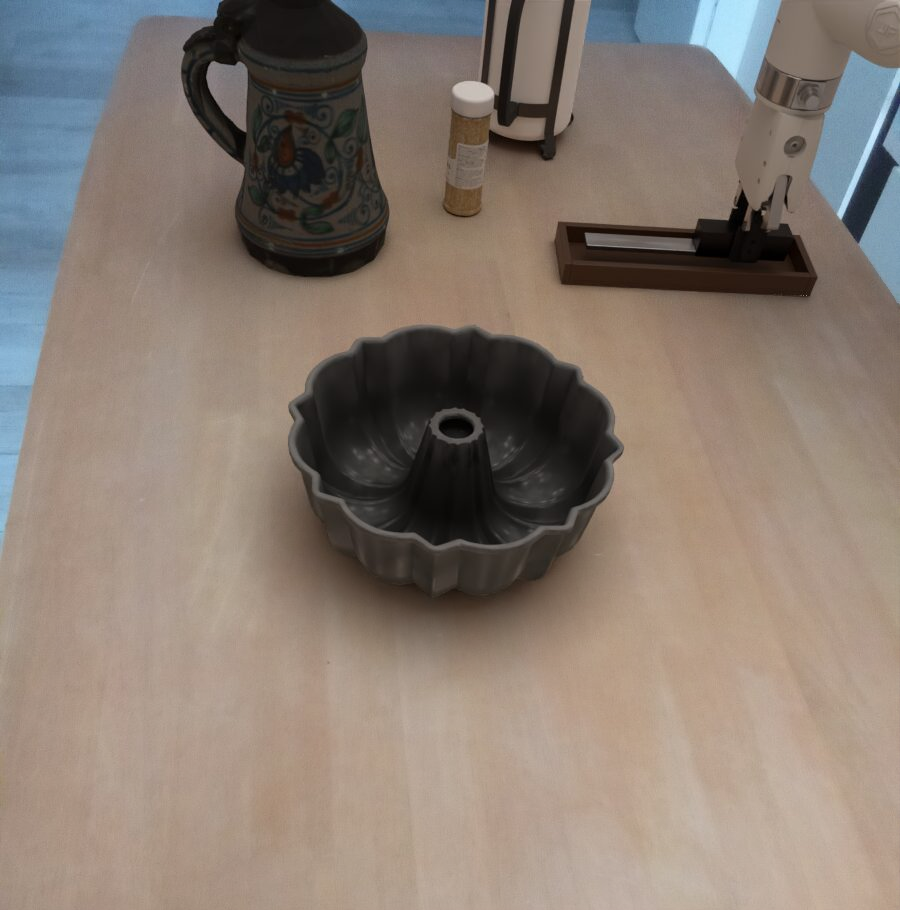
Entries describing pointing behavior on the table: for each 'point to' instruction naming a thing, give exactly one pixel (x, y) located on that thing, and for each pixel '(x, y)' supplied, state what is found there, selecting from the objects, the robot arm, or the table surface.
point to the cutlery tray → (676, 265)
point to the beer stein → (295, 132)
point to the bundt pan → (452, 456)
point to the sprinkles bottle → (467, 146)
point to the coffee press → (533, 66)
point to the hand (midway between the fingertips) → (739, 250)
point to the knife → (694, 241)
